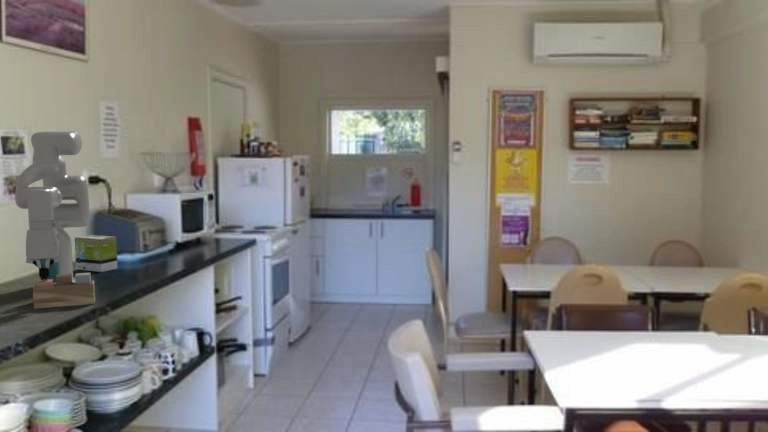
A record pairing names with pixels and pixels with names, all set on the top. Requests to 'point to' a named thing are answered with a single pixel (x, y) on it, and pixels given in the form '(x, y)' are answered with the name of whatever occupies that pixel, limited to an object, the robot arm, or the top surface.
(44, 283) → the salmon pink cube
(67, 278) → the brown cube
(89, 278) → the grey cube
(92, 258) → the tea box
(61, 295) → the wooden compartment box
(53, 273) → the beverage bottle
